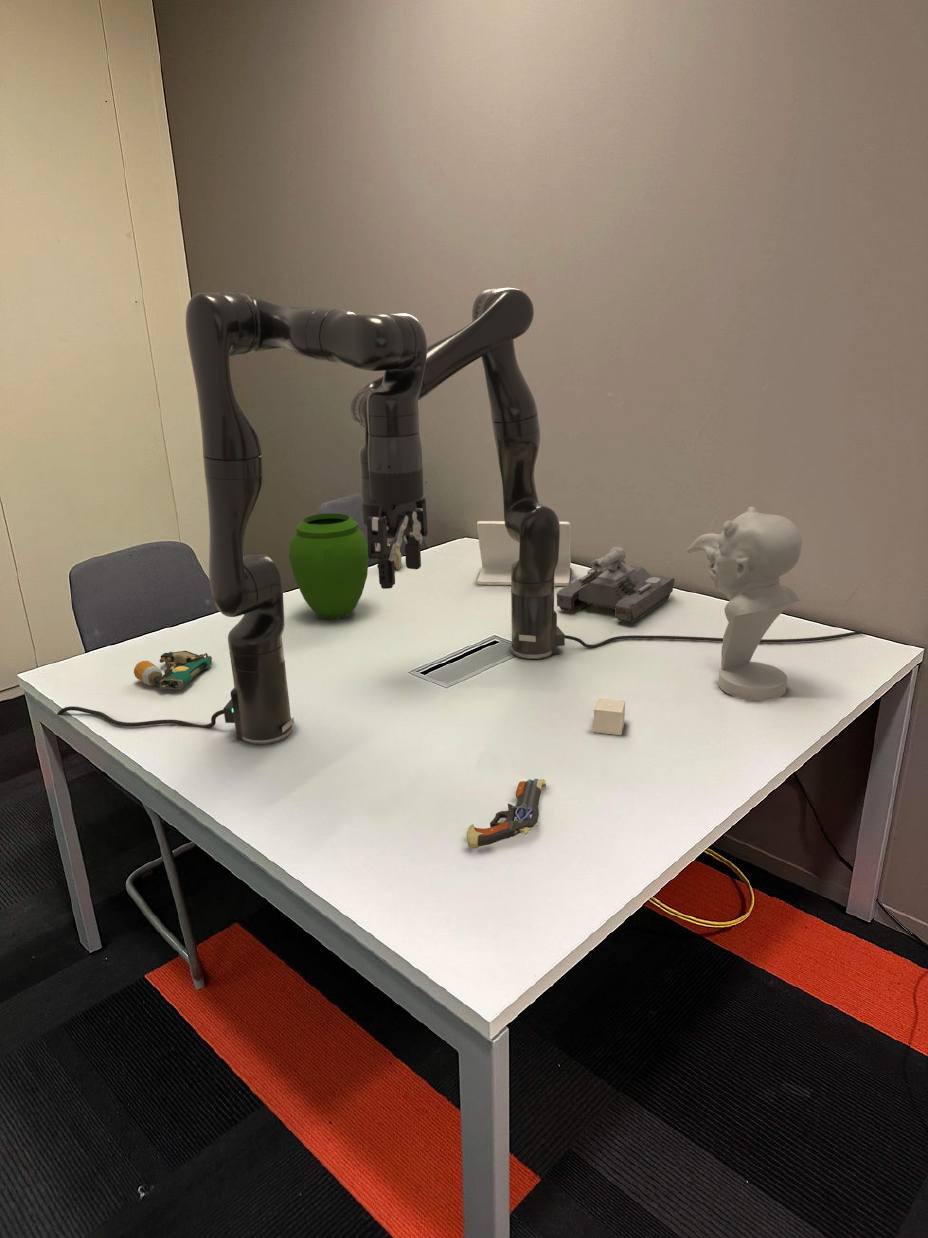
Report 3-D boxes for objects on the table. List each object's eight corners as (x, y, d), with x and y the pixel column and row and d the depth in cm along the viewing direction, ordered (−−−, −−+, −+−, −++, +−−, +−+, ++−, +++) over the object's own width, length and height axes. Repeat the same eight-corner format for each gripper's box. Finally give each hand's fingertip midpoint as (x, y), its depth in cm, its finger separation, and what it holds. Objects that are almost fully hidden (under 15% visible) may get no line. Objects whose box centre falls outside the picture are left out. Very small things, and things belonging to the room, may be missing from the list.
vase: (389, 608, 216) (383, 514, 208) (339, 633, 201) (330, 533, 192) (330, 596, 226) (322, 506, 218) (278, 619, 211) (267, 523, 202)
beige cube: (593, 732, 153) (593, 709, 151) (597, 720, 157) (597, 697, 155) (621, 735, 151) (622, 712, 150) (624, 723, 156) (625, 700, 154)
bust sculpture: (719, 649, 185) (733, 490, 173) (809, 690, 165) (831, 514, 153) (662, 665, 178) (671, 501, 166) (748, 710, 158) (766, 527, 146)
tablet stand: (569, 585, 229) (570, 524, 223) (476, 584, 232) (475, 523, 226) (570, 566, 246) (571, 508, 240) (484, 564, 249) (483, 507, 243)
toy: (603, 584, 229) (605, 530, 224) (673, 597, 218) (677, 540, 213) (555, 612, 210) (556, 553, 205) (630, 627, 199) (633, 566, 194)
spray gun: (177, 659, 191) (231, 671, 185) (120, 684, 176) (176, 698, 171) (176, 641, 190) (230, 653, 184) (118, 665, 175) (174, 678, 169)
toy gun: (462, 837, 120) (533, 836, 117) (484, 775, 137) (546, 773, 135) (465, 854, 120) (535, 853, 118) (486, 790, 138) (547, 788, 136)
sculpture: (404, 563, 253) (401, 513, 247) (403, 570, 246) (400, 519, 241) (384, 564, 253) (381, 514, 247) (383, 571, 246) (380, 520, 241)
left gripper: (396, 477, 111) (402, 594, 117) (440, 458, 124) (444, 565, 129) (346, 474, 114) (354, 588, 120) (394, 455, 126) (399, 560, 132)
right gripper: (400, 506, 153) (406, 592, 159) (402, 489, 167) (407, 568, 172) (358, 508, 153) (366, 594, 159) (363, 491, 166) (370, 570, 172)
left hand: (400, 576), depth 125 cm, fingers open, 8 cm apart
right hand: (387, 580), depth 166 cm, fingers open, 8 cm apart
